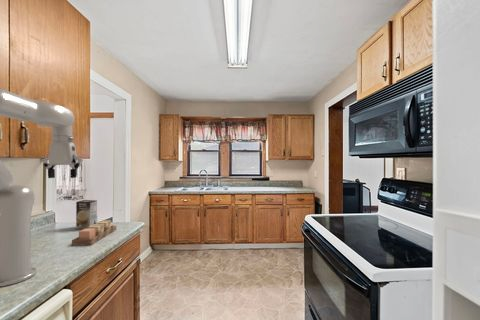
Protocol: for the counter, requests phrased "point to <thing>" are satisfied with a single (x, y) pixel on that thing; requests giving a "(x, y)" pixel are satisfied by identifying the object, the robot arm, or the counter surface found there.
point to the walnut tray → (91, 241)
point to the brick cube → (87, 233)
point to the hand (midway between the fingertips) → (62, 177)
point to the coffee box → (86, 213)
